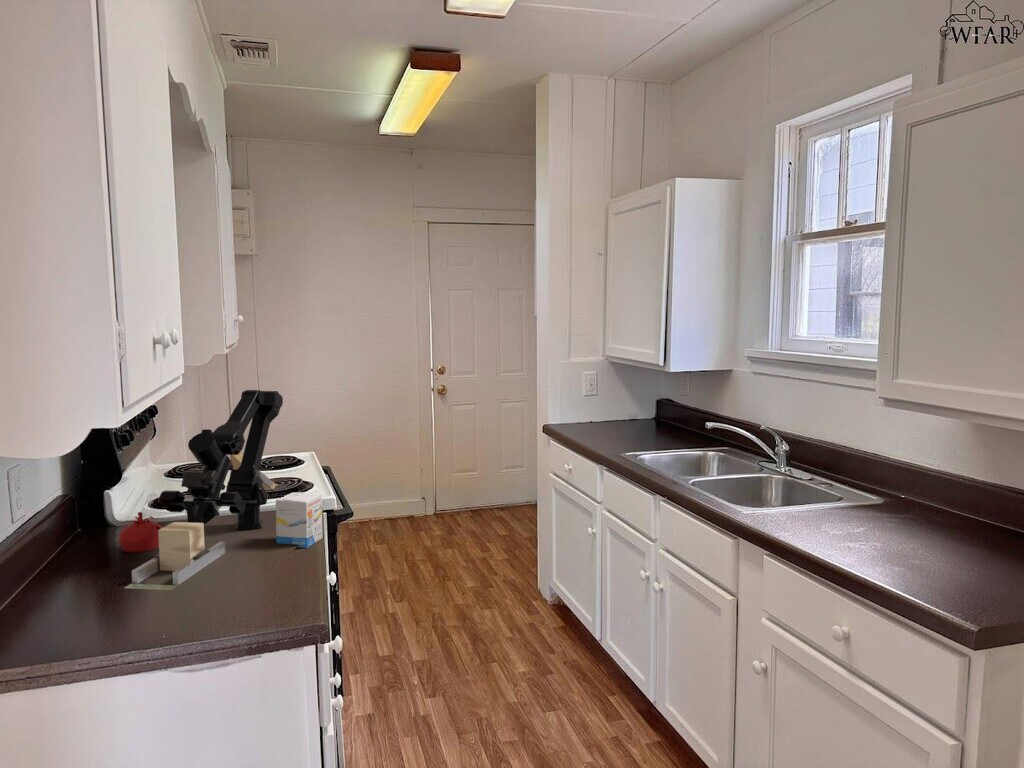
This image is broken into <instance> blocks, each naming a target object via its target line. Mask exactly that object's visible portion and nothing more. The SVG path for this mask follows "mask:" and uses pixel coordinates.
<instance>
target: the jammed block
mask: <svg viewBox="0 0 1024 768" xmlns="http://www.w3.org/2000/svg"><path fill="white" fill-rule="evenodd" d="M204 527H205V525H204V523H188V522H186V521H185V522H182V521H180V522H179V521H173V522H171V523H169V524H167V525H166V526H162V528H161V529H159V530H158V533H159V547H158V553H159V557H160V570H159V571H165V572H166V571H172V572H174V571H175V570H177V569H178V568H180V567H181V566H183V565H184V564H186V563H188V562H189V561H191V560H192V559H193V557H194V556H196V555H197V554H199V553H200V552H202V551H203V550H206V549H205V548H206V547H205V528H204Z"/></svg>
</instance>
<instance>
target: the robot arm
mask: <svg viewBox="0 0 1024 768" xmlns="http://www.w3.org/2000/svg"><path fill="white" fill-rule="evenodd" d="M283 403H284V398H283V395H281V394H280V392H279V391H278V390H261V389H246V390H243V391H242V392H241V398H240V399H239V401H238V403H237V405H236V406H235V408H234V409H233V410H232V412H231V414H230V416H228V417H229V418H228V419H227V420H226V422H225V423H224V424H222V425H220V426H218V427H216V429H215V430H214V431H212V429H208V428H207V429H202V430H201V432H200V433H198V434H196V435H194V436H193V437H191V439H189V441H188V444H187V446H188V450H190V452H191V453H192V455H193V457H194V459H195V460H196V461H197V462H198V463H199V464H200V465H202V469H201V471H200V472H195V471H194V472H191V471H189V472H188V471H187V472H183V475H182V480H181V487H182V488H184V487H185V488H186V492H187V493H188V494H190V495H187V494H185V495H183V494H182V492H181V491H180V490H166V489H165V490H163V491H162V492H160V495H159V497H158V499H157V500H158V501H159V503H160V504H161V505H162V506H163V508H164V509H165V510H166V511H167V512H170V513H182V512H184V511H186V516H187V517H186V518H187V520H186V521H187V522H188V523H204V526H206V524H207V523H209V522H211V520H213V519H214V518H216V517H219V516H220V512H219V511H220V508H221V509H222V507H229V508H228V511H229V512H230V513H231V514H233V515H237V516H236V517H237V520H236V522H235V530H236V531H242V530H252V529H261V528H263V521H262V519H261V506H264V505H267V502H268V498H267V497H268V494H267V492H266V491H265V489H264V487H263V486H262V483H263V480H262V478H261V475H260V473H259V471H260V467H261V463H262V460H263V459H262V458H263V455H264V450H265V446H266V442H267V438H268V434H269V430H270V425H271V423H272V422H273V421H274V420H275V419H276V418H277V417H278V416H279V413H280V411H281V408H282V407H283ZM249 425H250V427H249V429H248V434H247V437H246V438H245V436H244V435H245V432H246V430H247V428H248V426H249ZM245 439H246V440H245ZM243 449H244V450H243ZM242 451H243V454H242V456H243V457H242V461H241V465H240V467H239V468H238V469H233V465H232V463H231V460H230V455H238V454H239V453H240V454H241V452H242ZM231 470H232V471H231ZM229 471H230V474H229V478H228V481H227V485H226V484H225V481H226V478H227V477H228V473H229Z"/></svg>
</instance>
